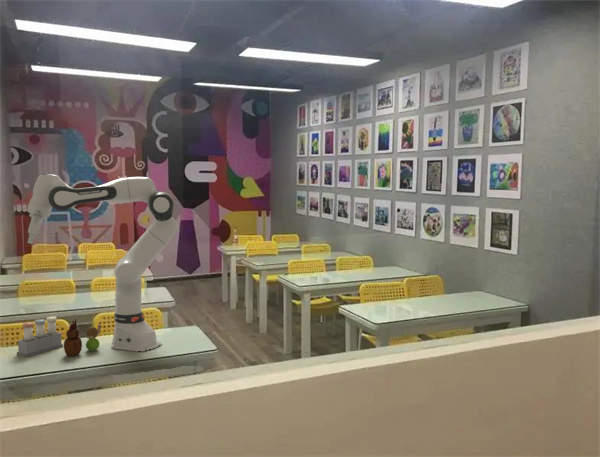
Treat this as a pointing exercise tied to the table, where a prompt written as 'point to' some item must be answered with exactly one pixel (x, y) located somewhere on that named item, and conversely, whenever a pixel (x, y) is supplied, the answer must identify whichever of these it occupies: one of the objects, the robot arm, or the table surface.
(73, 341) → the wooden figurine
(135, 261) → the robot arm
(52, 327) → the cream plug
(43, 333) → the slate plug
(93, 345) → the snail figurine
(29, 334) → the terracotta plug
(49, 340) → the socket board
